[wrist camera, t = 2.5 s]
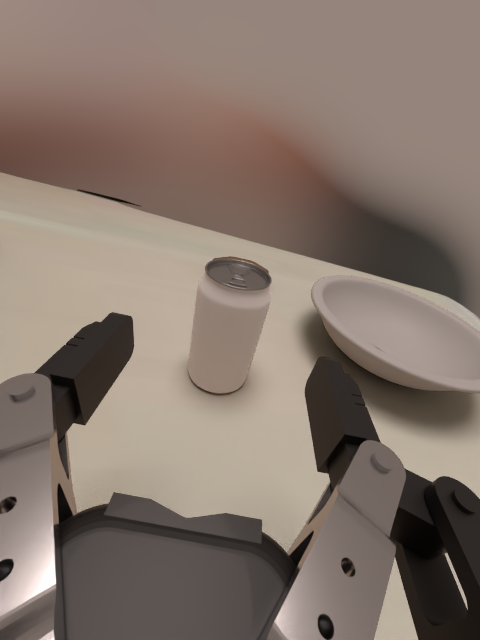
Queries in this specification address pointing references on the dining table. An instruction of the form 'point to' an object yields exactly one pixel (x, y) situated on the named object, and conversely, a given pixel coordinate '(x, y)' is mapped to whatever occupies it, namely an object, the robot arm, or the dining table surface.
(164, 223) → the dining table surface
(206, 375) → the can
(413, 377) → the soup bowl
